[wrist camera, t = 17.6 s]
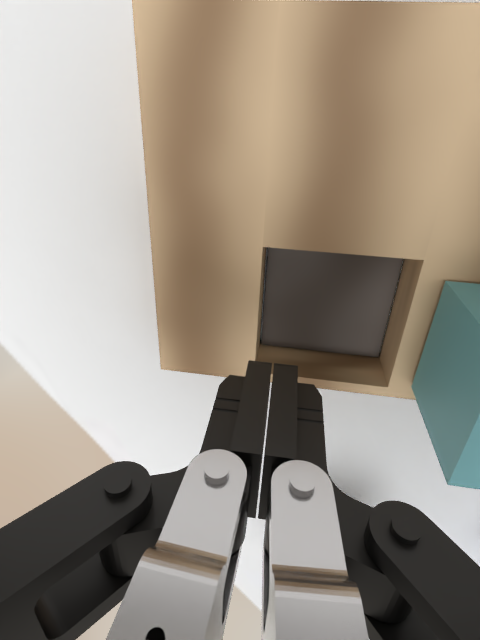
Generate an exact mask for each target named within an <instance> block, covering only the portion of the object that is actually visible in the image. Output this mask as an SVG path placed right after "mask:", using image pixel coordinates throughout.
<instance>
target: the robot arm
mask: <svg viewBox="0 0 480 640" xmlns="http://www.w3.org/2000/svg"><path fill="white" fill-rule="evenodd" d="M271 368H272V363H269V362H260V361H251V360H249V361H248V365H247V370H246V375H245V376H237V375H229V376H228V377H227V378H226V379H225V380H224V381H223V382H222V383H221V384H220V385H219V389H218V392H217V396H216V400H215V403H214V406H213V410H212V413H211V417H210V420H209V424H208V427H207V431H206V434H205V438H204V441H203V444H202V448H201V451H200V453H199V455H197V456H196V457H195V458H194V459H193V460H192V461H191V462H190V464H189V465H188V466H187V467H185V468H183V469H181V470H178V471H175V472H171V473H165V474H158V475H152V476H150V475H149V473H148V471H147V470H146V469H145V468H144V467H143V466H141V465H140V464H137V463H135V462H130V461H122V462H116V463H112V464H110V465H107V466H105V467H103V468H102V469H100V470H98V471H97V472H95V473H93V474H92V475H90V476H88V477H87V478H85V479H83V480H81V481H80V482H78V483H76V484H75V485H73V486H71V487H70V488H68V489H67V490H65V491H63V492H61V493H60V494H58V495H56V496H55V497H53V498H51V499H50V500H48V501H46V502H44V503H43V504H41V505H39V506H38V507H36V508H34V509H33V510H31V511H29V512H28V513H26V514H24V515H23V516H21V517H19V518H18V519H16V520H14V521H12V522H11V523H9V524H8V525H6V526H4V527H2V528H1V529H0V640H75V639H77V638H78V637H79V636H80V635H81V634H83V633H84V632H85V631H86V630H87V629H89V628H90V627H91V626H92V625H93V624H94V623H95V622H97V621H98V620H99V619H100V618H102V617H103V616H104V615H105V614H106V613H107V612H109V611H110V610H111V609H112V608H113V607H115V606H116V605H117V604H118V603H119V602H120V601H122V600H123V601H122V603H121V605H120V608H119V610H118V612H117V615H116V617H115V619H114V622H113V624H112V627H111V629H110V631H109V633H108V636H107V638H106V640H223V633H224V629H225V623H226V619H227V614H228V609H229V605H230V600H231V595H232V590H233V586H234V581H235V576H236V572H237V567H238V562H239V558H240V553H241V547H242V543H243V541H244V538H245V532H246V525H247V517H251V518H255V517H256V508H257V499H258V490H259V481H260V472H261V463H262V454H263V445H264V436H265V427H266V418H267V408H268V398H269V388H270V378H271ZM323 422H324V421H323V406H322V396H321V395H320V393H319V392H318V390H317V389H316V387H315V385H314V384H305V383H298V366H296V365H287V364H278V363H274V369H273V379H272V388H271V398H270V408H269V417H268V427H267V436H266V446H265V455H264V465H263V475H262V485H261V494H260V504H259V514H258V518H259V519H266V523H265V535H264V544H263V561H262V640H369V639H370V640H480V567H479V566H478V565H477V564H476V563H475V562H474V561H473V560H472V559H471V558H470V557H469V556H468V555H467V554H466V553H465V552H464V551H463V550H462V549H461V548H460V547H458V546H457V545H456V544H455V543H454V542H453V541H452V540H451V539H450V538H449V537H448V536H447V535H446V534H445V533H444V532H443V531H442V530H441V529H440V528H439V527H438V526H436V525H435V524H434V523H433V522H432V521H431V520H430V519H429V518H428V517H427V516H426V515H425V514H424V513H422V512H421V511H420V510H418V509H417V508H415V507H413V506H411V505H409V504H406V503H404V502H400V501H385V502H382V503H380V504H378V505H377V506H375V507H374V508H373V507H370V506H368V505H366V504H364V503H361V502H359V501H357V500H355V499H353V498H351V497H349V496H347V495H346V494H344V493H343V492H342V491H341V490H339V489H338V488H337V487H336V486H335V484H334V483H333V482H332V480H331V478H330V476H329V474H328V471H327V465H326V451H325V436H324V424H323Z"/></svg>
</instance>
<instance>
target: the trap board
mask: <svg viewBox="0 0 480 640" xmlns="http://www.w3.org/2000/svg"><path fill="white" fill-rule="evenodd" d="M132 7H133V20H134V32H135V45H136V58H137V71H138V83H139V96H140V109H141V122H142V134H143V147H144V160H145V173H146V185H147V198H148V211H149V224H150V236H151V249H152V262H153V275H154V287H155V300H156V313H157V326H158V338H159V351H160V364H161V369H164V370H172V371H180V372H189V373H197V374H205V375H214V376H222V377H228V376H229V375H237V376H245V375H246V370H247V365H248V361H249V360H251V361H260V362H269V363H272V368H271V378H270V382H272V379H273V369H274V363H278V364H287V365H296V366H298V383H305V384H314V385H315V387H316V388H322V389H330V390H338V391H347V392H355V393H363V394H372V395H380V396H388V397H396V398H405V399H413V400H416V398H415V395H414V393H413V390H412V387H411V386H412V383H413V380H414V377H415V374H416V371H417V368H418V365H419V362H420V358H421V355H422V352H423V349H424V346H425V343H426V340H427V337H428V334H429V330H430V327H431V324H432V321H433V318H434V315H435V312H436V309H437V306H438V303H439V299H440V296H441V293H442V290H443V287H444V284H445V281H453V282H464V283H475V284H480V3H459V2H384V1H310V0H132ZM267 247H269V248H268V261H267V275H266V288H265V301H264V315H263V328H262V341H261V344H260V331H261V318H262V304H263V290H264V276H265V262H266V249H267ZM403 259H404V262H403ZM402 262H403V266H402ZM401 266H402V270H401ZM400 270H401V274H400ZM399 274H400V278H399ZM398 278H399V282H398ZM397 282H398V286H397ZM396 286H397V290H396ZM395 290H396V294H395ZM394 294H395V297H394ZM393 298H394V301H393ZM392 301H393V305H392ZM391 305H392V309H391ZM390 309H391V313H390ZM389 313H390V317H389ZM388 317H389V321H388ZM387 321H388V325H387ZM386 325H387V329H386ZM385 329H386V332H385ZM384 333H385V336H384ZM383 337H384V340H383ZM382 341H383V344H382ZM381 344H382V348H381ZM380 348H381V352H380ZM379 352H380V356H379ZM378 356H379V357H378Z"/></svg>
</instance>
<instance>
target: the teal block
mask: <svg viewBox="0 0 480 640" xmlns="http://www.w3.org/2000/svg"><path fill="white" fill-rule="evenodd" d="M411 387H412V390H413V393H414V395H415V398H416V401H417V404H418V406H419V409H420V412H421V414H422V417H423V420H424V422H425V425H426V428H427V430H428V433H429V436H430V439H431V441H432V444H433V447H434V449H435V452H436V455H437V457H438V460H439V463H440V465H441V468H442V471H443V474H444V476H445V479H446V482H447V484H448V485H453V486H460V487H467V488H474V489H480V284H475V283H464V282H453V281H445V284H444V287H443V290H442V293H441V296H440V299H439V303H438V306H437V309H436V312H435V315H434V318H433V321H432V324H431V327H430V330H429V334H428V337H427V340H426V343H425V346H424V349H423V352H422V355H421V358H420V362H419V365H418V368H417V371H416V374H415V377H414V380H413V383H412V386H411Z"/></svg>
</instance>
